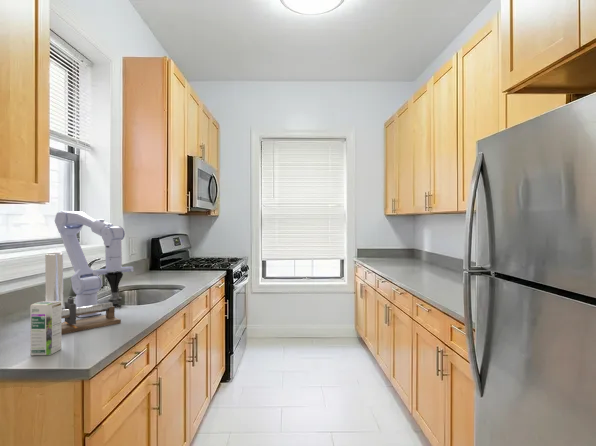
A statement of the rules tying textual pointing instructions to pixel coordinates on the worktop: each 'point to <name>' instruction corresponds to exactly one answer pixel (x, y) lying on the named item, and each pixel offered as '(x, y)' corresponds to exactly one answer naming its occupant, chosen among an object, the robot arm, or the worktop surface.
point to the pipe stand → (90, 322)
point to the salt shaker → (115, 298)
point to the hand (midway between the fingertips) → (114, 291)
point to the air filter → (54, 277)
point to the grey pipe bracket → (71, 311)
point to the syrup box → (45, 328)
